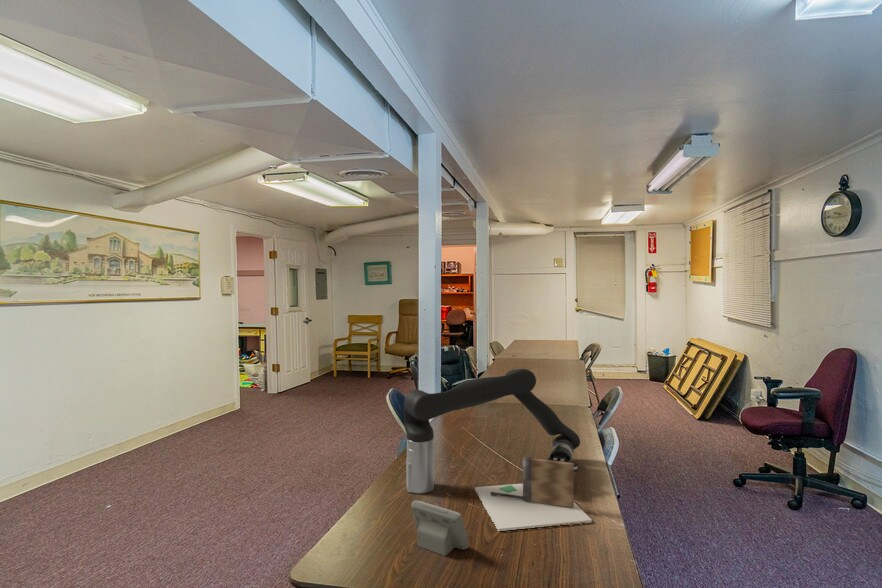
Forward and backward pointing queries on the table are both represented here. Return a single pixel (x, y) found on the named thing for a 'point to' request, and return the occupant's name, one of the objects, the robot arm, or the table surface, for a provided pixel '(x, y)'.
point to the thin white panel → (525, 509)
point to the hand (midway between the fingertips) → (555, 474)
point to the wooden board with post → (547, 482)
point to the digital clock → (439, 528)
